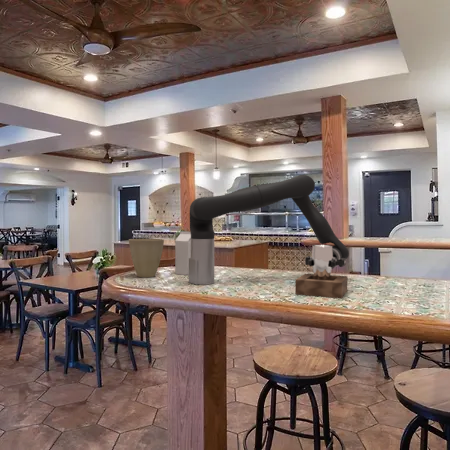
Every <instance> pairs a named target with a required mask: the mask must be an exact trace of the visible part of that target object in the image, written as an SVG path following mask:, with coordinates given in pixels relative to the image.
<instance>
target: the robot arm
mask: <svg viewBox="0 0 450 450" xmlns="http://www.w3.org/2000/svg"><path fill="white" fill-rule="evenodd" d="M315 186H316V182H315V180H314V179H313V177H311V176H309V175H307V174H299V175H297V176H294V177H291V178H287V179H285V180H282V181H277V182H276V181H275V182H267V183H261V184H257V185H251V186H247V187H244V188H239V189H237V190H235V191H232V192H229V193H227V194H221V195H216V196H201V197H198V198H195V199H194V200H193V201H192V202H191V203H190V205H189V232H190V233H191V258H189V275H188V283H191V284H193V285H210V284H214V283H215V230H214V225H213V223H214V221H213V220H214V219H215V218H218V217H221V216H224V215H227V214H228V215H229V214H231V213H232V214H233V213H242V212H248V211H252V210H253V211H254V210H257V209H261V208H264V207H265V208H266V207H267V206H270V205H271V206H272V205H273V204H275V203H276V204H277V203H278V202H280V201H283V200H287V199H291V200H292V201H293V202H294V203H295V205H296V206H297V207H298V210H300V212H301V214H303V216H304V217H305V219H306V220H307V222H308V224H309V226H310V227H311V229H312V232H313V233H314V235H315V237H316V239H317V240H318V242H319V244H320V245H327V244H333V245H331V246H332V252H333V260H332V261H331V267H332V269H334V268H337V267H340V268H343V267H344V266H346V262H347V261H346V259H348V258H349V256H350V252H349V248H347V246H346V245H345V244H344V243H343V242H342V241H341V240H340V239H339V238H338V237H337V236H336V234H335V233H334V230H333V229H332V227H331V225H330V223H329V221H328V220H327V218H326V217H325V216H324V214H323V213H321V212H320V211H319V210H318V208H316V206H315V204H314V203H313V202H312V200H311V198H310V197H311V196H310V195H311V194H312V193H313V192H314V190H315ZM304 259H305V260H304V261H305V262H304V264H305V265H306V266H309V267H313V266H312V256H310V255H307V256H306V257H305V258H304ZM332 269H331V270H332Z"/></svg>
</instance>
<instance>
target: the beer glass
mask: <svg viewBox="0 0 450 450" xmlns="http://www.w3.org/2000/svg"><path fill="white" fill-rule="evenodd" d="M332 246H333V245H327V244H312V249H311V258H312V266H311V267H312V273H313V274H314V279H315V280H330V275H331V273H332V267H331V261H332V260H333V252H332Z"/></svg>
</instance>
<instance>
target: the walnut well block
mask: <svg viewBox="0 0 450 450" xmlns="http://www.w3.org/2000/svg"><path fill="white" fill-rule="evenodd" d="M347 292H348V276H347V275H333V274H332V275H331V274H330V280H315V279H314V273H304V274H301V276H299V277H297V278H295V292H294V293H295V295H297V296H299V295H300V296H309V297H319V296H321V297H320V298H322V297H323V298H331V297H332V299H343V297H344V296H345V295H346V293H347Z"/></svg>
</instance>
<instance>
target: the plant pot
mask: <svg viewBox="0 0 450 450" xmlns="http://www.w3.org/2000/svg"><path fill="white" fill-rule="evenodd" d="M128 243H129V251H130V255H131V260H132V264H133V267H134V271H135V273H136V276H137V277H138V278H141V279H142V278H146V279H147V278H154V277H156V274H157V272H158V269H159V265H160V262H161V260H162V259H161V258H162V255H163V252H164V251H163V250H164V243H165V239H163V238H130V239H128Z"/></svg>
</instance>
